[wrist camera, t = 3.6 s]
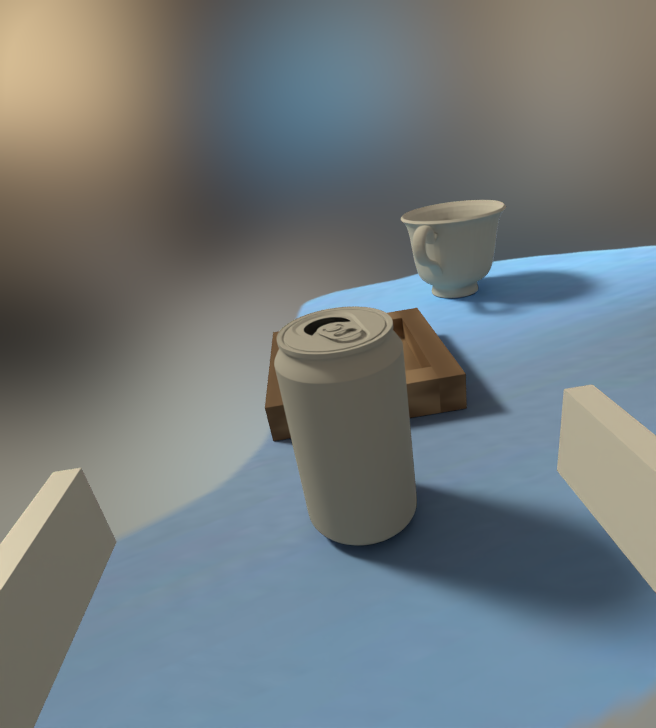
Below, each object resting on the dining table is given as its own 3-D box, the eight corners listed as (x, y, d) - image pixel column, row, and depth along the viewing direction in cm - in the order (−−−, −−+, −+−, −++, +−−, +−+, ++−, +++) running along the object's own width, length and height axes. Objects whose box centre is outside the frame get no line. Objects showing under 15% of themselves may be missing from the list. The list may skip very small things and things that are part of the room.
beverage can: (375, 462, 31) (352, 293, 26) (441, 517, 26) (429, 321, 21) (292, 505, 29) (248, 329, 24) (347, 576, 24) (306, 370, 18)
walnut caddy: (419, 334, 49) (416, 307, 48) (466, 408, 35) (465, 373, 34) (279, 358, 49) (273, 332, 48) (273, 441, 35) (264, 408, 34)
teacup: (377, 311, 57) (368, 228, 52) (432, 274, 67) (428, 202, 62) (472, 321, 50) (471, 227, 45) (518, 278, 60) (520, 197, 55)
